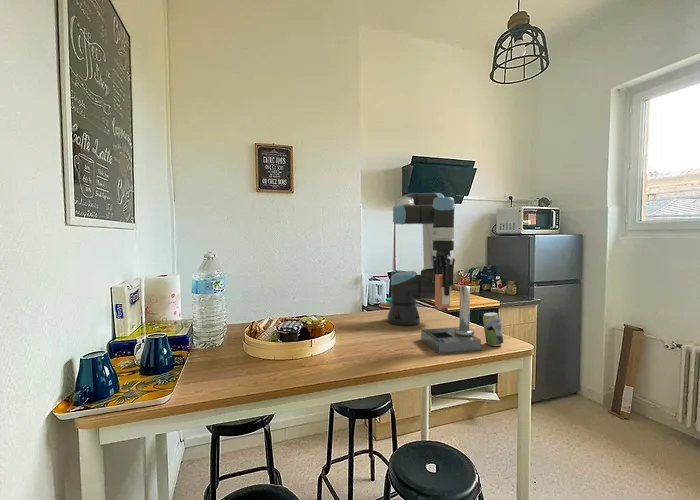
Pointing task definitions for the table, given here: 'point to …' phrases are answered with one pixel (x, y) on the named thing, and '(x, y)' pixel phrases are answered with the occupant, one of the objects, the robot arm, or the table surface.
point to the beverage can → (492, 329)
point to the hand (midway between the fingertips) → (442, 302)
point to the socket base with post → (454, 332)
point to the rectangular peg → (439, 292)
